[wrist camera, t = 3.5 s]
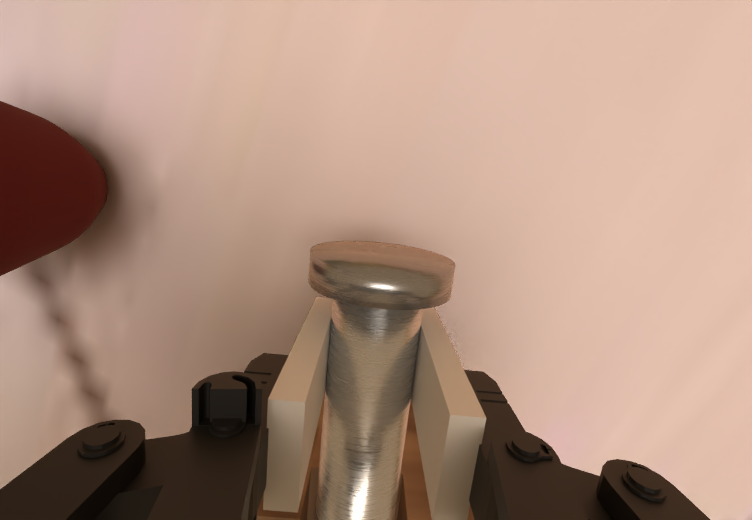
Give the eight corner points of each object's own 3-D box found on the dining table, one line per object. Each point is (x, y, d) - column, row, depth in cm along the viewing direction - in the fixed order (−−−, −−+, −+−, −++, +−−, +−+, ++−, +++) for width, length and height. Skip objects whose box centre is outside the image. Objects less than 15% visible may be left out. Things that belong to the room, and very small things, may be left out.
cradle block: (261, 457, 24) (190, 635, 15) (264, 374, 23) (189, 510, 13) (444, 473, 24) (487, 655, 15) (458, 391, 23) (515, 535, 14)
